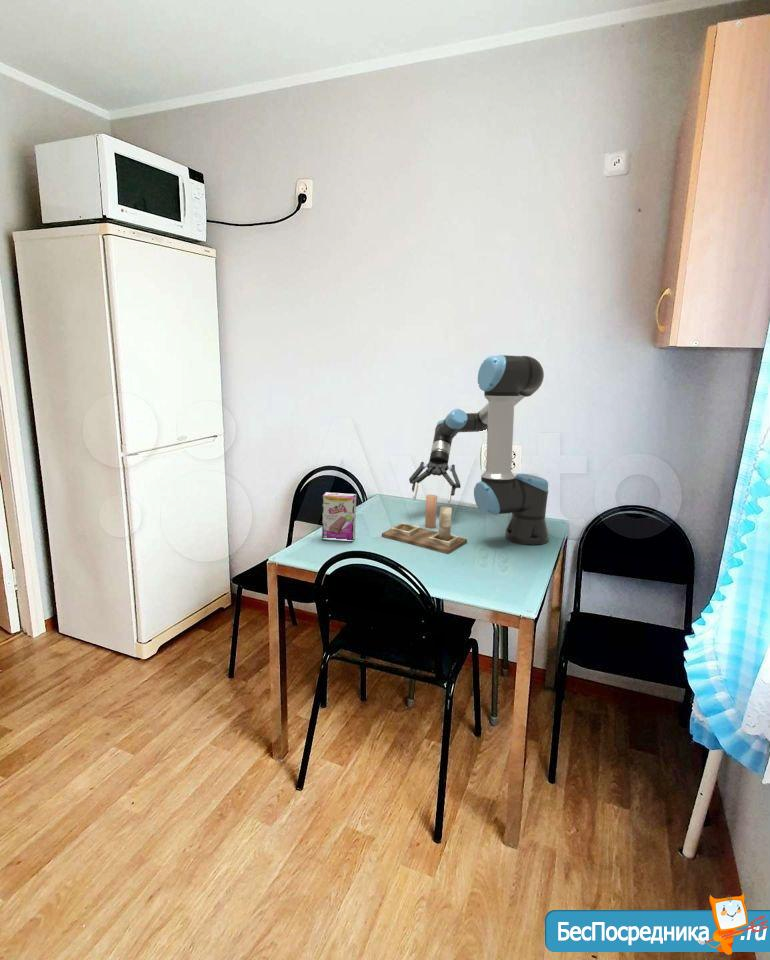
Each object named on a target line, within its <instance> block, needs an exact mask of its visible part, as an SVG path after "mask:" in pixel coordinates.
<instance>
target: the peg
mask: <svg viewBox="0 0 770 960" xmlns="http://www.w3.org/2000/svg"><path fill="white" fill-rule="evenodd" d="M425 497H426V499H425V500H426V501H425V521H424V527H425V528H428V529H435V528H436V526H437V525H436V523H437V510H438V509H437V508H438V507H437V505H438V495H436V494H427V495H426V496H425Z"/></svg>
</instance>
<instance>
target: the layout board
mask: <svg viewBox="0 0 770 960" xmlns="http://www.w3.org/2000/svg"><path fill="white" fill-rule="evenodd" d="M452 511H453V509H452V507H450V506H441V507H439V518H438V519H439V520H438V522H439V523H438V531H435V530H430V529H426V528H422V527H420V526H418V525H413V524H409V523H404V522H401V523H398V524H396V525H394V526H391V527H389V530H386V531H384V532H382V533H381V537H384V538H385V539H389V540H395V541H398V542H402V543H405V544H410V545H412V546H416V547H420V548H424V549H428V550H431V551H432V550H433V551H435V552H439V553H443V554H446V555H448V554H450V553H452V552H454V551H456V550H457V549H459V548H460V547H462V546H463V545H465V544H467V543H468V538H464V537H460V536H459V535H455V534H452V533H451V529H452V528H451V527H452V525H451V524H452Z"/></svg>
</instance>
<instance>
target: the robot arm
mask: <svg viewBox="0 0 770 960" xmlns="http://www.w3.org/2000/svg"><path fill="white" fill-rule="evenodd" d="M544 377H545V373H544V369H543V366H542V364H541V363H540V362H539V361H538V360H537V359H536V358H534V357H532V356H528V355H506V354H504V355H503V354H502V355H501V354H499V355H490V356H488V357H486V358H484V360H483V362H482V363H481V364H480V366H479V369H478V371H477V384H478V387H479V389H480V390H481V391H483V395H484V398H485V399H486V400H487V401H488V403H487V404H485V405H484V406H483V407H482V408H481V409H480V411H478V412H473V413H472V412H470V413H469V412H468V413H467V412H465V410H462V409H461V408H454V409H452V410H451V411H450V412H449V413H448V414H447V415H446V416H445V418H444V419H441V420H439V421H438V422H437V423H436V425H435V428H434V435H433V440H432V445H431V450H430V456H429V460H428V463H425V462H424V461H421V462H420V464H419V466H418V468H417V469H416V470H415V471H414V472H413V474H411V476H410V477H409V479H408V480H409V483H410V484H412V485H411V486H412V487H411V490H412V493H413V494H412V499H413V501H416V499H417V495H418V491H419V483H421V482H423V481H424V480H425V479H426V478H427V477H430V476H439V477H440V476H442V477H443V478H444V479H445V481H446V482H447V483H448V484H449V491H448V498H447V504H449V505H450V504H451V501H452V497H453V496H455V494H456V493H455V492H456V489H461V486H462V485H461V481H460V480H459V477H458V474H457V472H456V468H455V467H456V465H455V464H453V463H452V464H451V465H449V460H450V455H451V454H450V453H451V449H452V448H451V447H452V443H453V439H454V438H455V437H456V436H457V434H458V433H474V432H476V433H480V432H479V431H483V430H486V429H487V432H486V438H487V439H486V455H485V456H486V459H485V460H486V461H485V471H484V472H483V473H482V474H481V476H480V477H481V478H480V481H478V482H477V483H476V484H475V486H474V488H473V497H474V502H475V505H476V506H477V509H478V510H479V512H481V513H482V514H484V515H487V516H490V515H491V516H492V515H494V516H497V515H502V514H503V515H504V514H511V517H510V520H509V521H508V524H507V527H506V528H505V534H504V535H505V539H507V540H509V541H511V542H513V543H516V544H520V543H521V544H520V545H526V544H540V545H543V544H542V543H544V544H546V543H548V541H549V531H548V527H547V523H546V513H547V512H546V511H547V505H548V504H547V502H548V496H549V495H548V494H549V482H548V480H547V479H545V478H543V477H540V476H536V475H533V474H528V473H517V474H514V473H513V472H512V466H513V464H512V463H513V462H512V460H513V459H512V458H513V439H514V422H515V421H514V420H515V419H514V417H515V406H516V405H517V404H518V403H520V402H522V400H523V399H524V398H527V397H531V396H532V395H533V394H534V393H536V392H537V391H538V390H539V389H540V387H541V386H542V384H543V382H544ZM424 470H425V471H424ZM448 470H449V471H450V472H451V474H452V477H453V479H454V480H453V479H452V478H451V476H450V475H449V474H448V473H447V471H448ZM422 472H423V473H422ZM545 542H546V543H545Z"/></svg>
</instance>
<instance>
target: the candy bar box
mask: <svg viewBox="0 0 770 960" xmlns="http://www.w3.org/2000/svg"><path fill="white" fill-rule="evenodd" d="M356 512H357V494H356V493H341V492H330V491H329V492H327V491H326V492H324V493H323V495H322V519H321V520H322V522H321V524H322V525H321V526H322V527H321V530H322V531H321V539H322V538H336V539H347V540H353V539H354V537H355V538H356V521H357V520H356V518H357V516H356ZM354 540H355V539H354ZM354 540H353V541H354Z"/></svg>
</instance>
